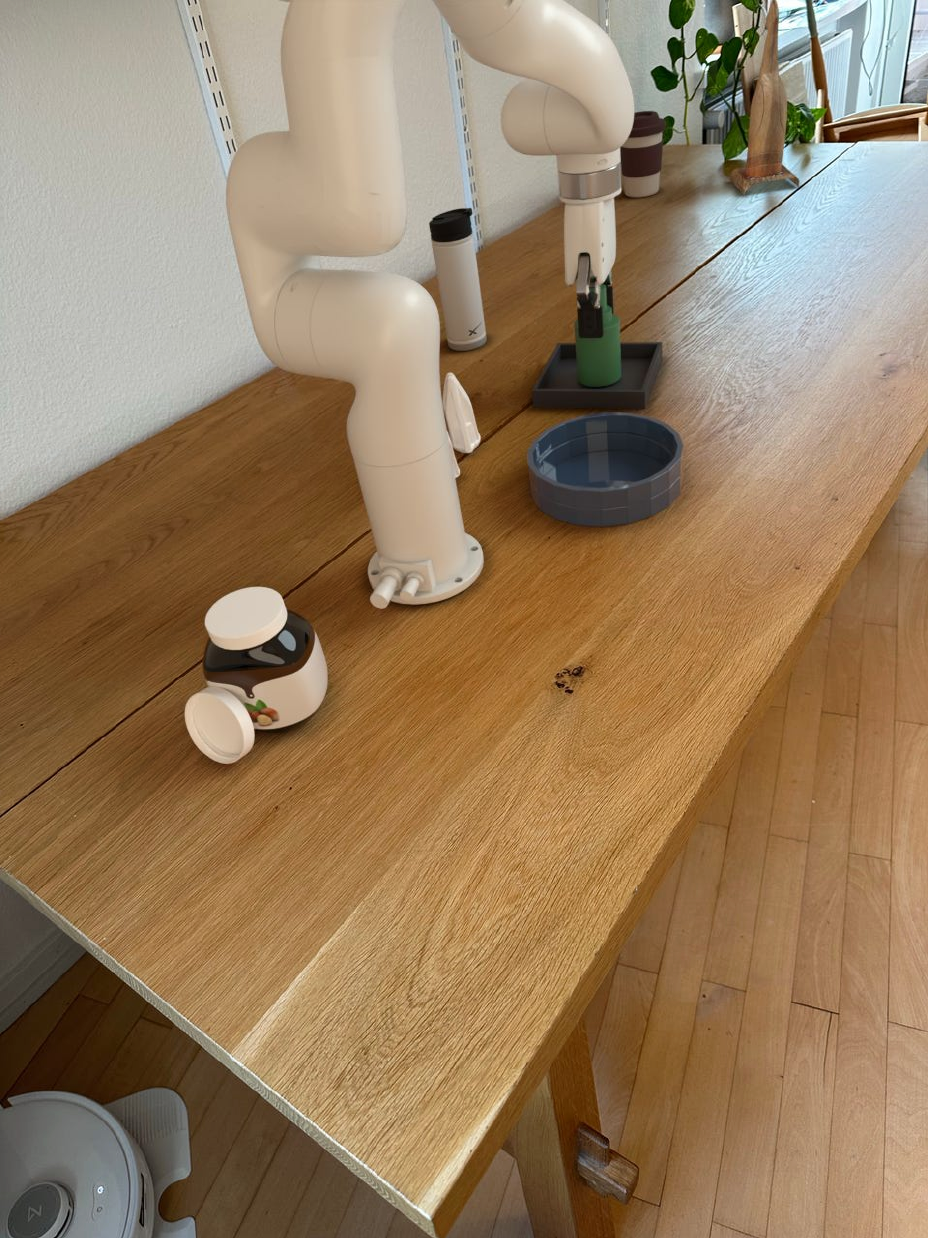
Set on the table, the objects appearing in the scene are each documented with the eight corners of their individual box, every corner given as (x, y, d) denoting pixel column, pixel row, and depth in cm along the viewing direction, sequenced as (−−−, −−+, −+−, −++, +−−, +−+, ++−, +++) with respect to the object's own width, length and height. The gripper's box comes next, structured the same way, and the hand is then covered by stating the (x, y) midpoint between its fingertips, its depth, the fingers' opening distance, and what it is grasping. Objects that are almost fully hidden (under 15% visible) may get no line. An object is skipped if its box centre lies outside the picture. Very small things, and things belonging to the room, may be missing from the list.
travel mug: (485, 350, 136) (467, 216, 124) (444, 352, 138) (422, 220, 125) (492, 333, 141) (475, 202, 128) (452, 336, 142) (432, 206, 130)
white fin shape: (460, 437, 116) (447, 358, 109) (489, 440, 114) (478, 360, 107) (421, 485, 108) (404, 403, 101) (451, 489, 106) (436, 406, 99)
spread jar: (340, 673, 84) (309, 578, 76) (321, 765, 75) (283, 667, 67) (220, 683, 85) (178, 590, 78) (188, 773, 76) (138, 679, 69)
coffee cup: (612, 192, 191) (610, 115, 181) (655, 182, 192) (655, 105, 182) (627, 203, 183) (625, 123, 174) (672, 193, 184) (672, 113, 174)
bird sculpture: (781, 173, 184) (796, -12, 163) (801, 187, 175) (819, -7, 154) (728, 182, 184) (736, -1, 164) (745, 197, 175) (756, 5, 155)
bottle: (617, 387, 118) (613, 295, 110) (573, 386, 120) (567, 297, 112) (624, 367, 122) (622, 278, 114) (582, 367, 124) (577, 279, 116)
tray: (645, 411, 114) (644, 391, 112) (533, 409, 119) (531, 390, 117) (662, 360, 125) (662, 341, 123) (559, 360, 130) (557, 342, 128)
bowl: (670, 534, 93) (670, 494, 90) (514, 524, 98) (509, 486, 95) (691, 451, 105) (692, 413, 102) (551, 446, 111) (547, 410, 107)
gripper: (574, 163, 112) (582, 301, 124) (541, 206, 100) (554, 354, 112) (633, 159, 110) (635, 300, 121) (606, 202, 98) (612, 354, 109)
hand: (596, 325), depth 116 cm, fingers closed on bottle, 6 cm apart
